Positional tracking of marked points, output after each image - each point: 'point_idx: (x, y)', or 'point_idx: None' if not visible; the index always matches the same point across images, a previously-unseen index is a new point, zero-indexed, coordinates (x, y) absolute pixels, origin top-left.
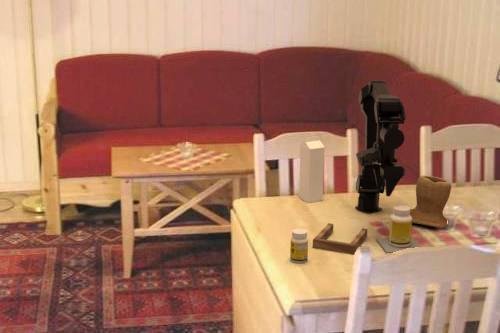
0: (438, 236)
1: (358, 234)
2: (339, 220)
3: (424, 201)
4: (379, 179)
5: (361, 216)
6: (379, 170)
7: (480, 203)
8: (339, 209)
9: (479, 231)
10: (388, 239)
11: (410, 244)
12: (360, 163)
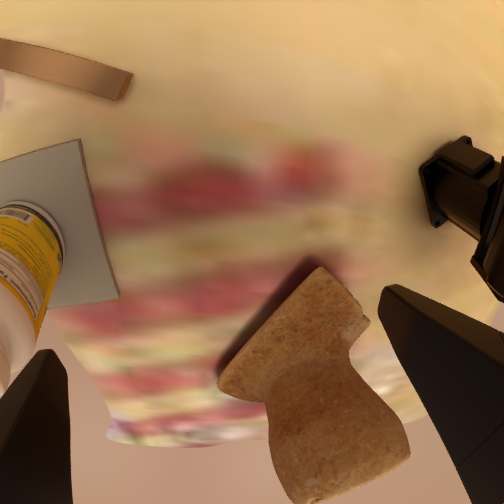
0: (162, 367)
1: (30, 50)
2: (367, 19)
3: (296, 412)
4: (430, 355)
5: (400, 132)
6: (501, 428)
7: None
8: (468, 76)
9: (215, 432)
10: (68, 201)
11: None
12: None
